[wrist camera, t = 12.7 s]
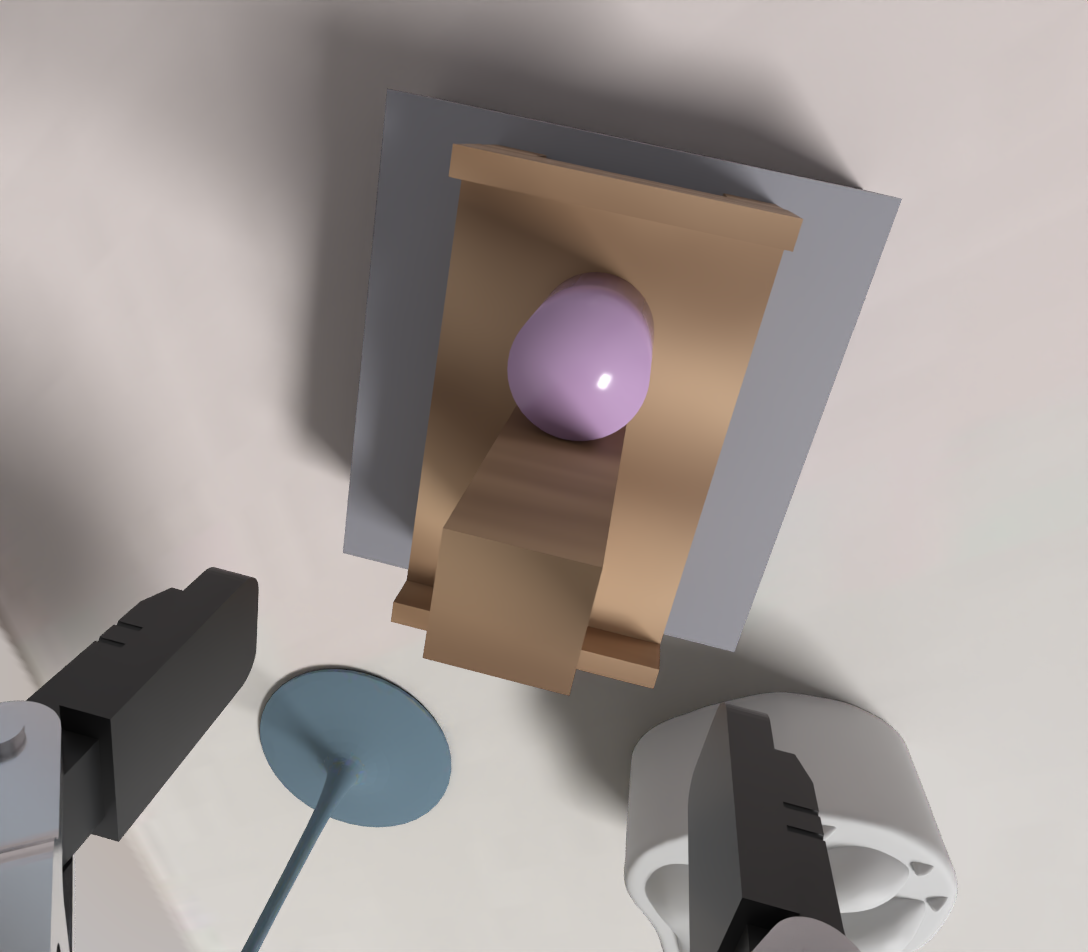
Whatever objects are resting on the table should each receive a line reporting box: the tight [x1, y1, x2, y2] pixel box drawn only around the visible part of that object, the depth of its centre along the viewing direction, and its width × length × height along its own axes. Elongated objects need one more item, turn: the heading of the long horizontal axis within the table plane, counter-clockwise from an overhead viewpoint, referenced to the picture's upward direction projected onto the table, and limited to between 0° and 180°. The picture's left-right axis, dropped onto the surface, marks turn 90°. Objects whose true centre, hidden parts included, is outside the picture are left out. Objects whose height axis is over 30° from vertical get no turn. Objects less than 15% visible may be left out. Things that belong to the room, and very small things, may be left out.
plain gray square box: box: [343, 89, 902, 652], centre depth 29 cm, size 17×16×5 cm
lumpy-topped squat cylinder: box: [624, 692, 958, 952], centre depth 34 cm, size 10×13×9 cm
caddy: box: [391, 144, 803, 696], centre depth 21 cm, size 15×9×14 cm, turn 169°
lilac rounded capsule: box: [507, 272, 654, 441], centre depth 20 cm, size 3×3×4 cm
